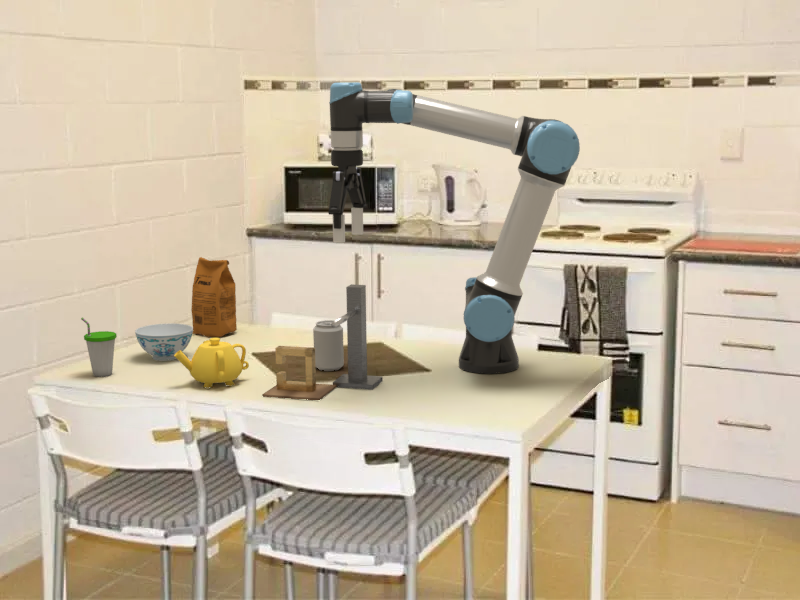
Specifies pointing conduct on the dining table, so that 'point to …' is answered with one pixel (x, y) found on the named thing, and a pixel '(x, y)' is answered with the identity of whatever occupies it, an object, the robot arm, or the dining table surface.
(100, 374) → the cup
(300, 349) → the c link
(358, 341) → the stand
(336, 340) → the can
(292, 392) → the walnut board
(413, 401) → the dining table surface
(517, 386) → the dining table surface
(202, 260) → the coffee package
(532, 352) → the dining table surface
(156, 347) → the chinaware
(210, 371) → the teapot
